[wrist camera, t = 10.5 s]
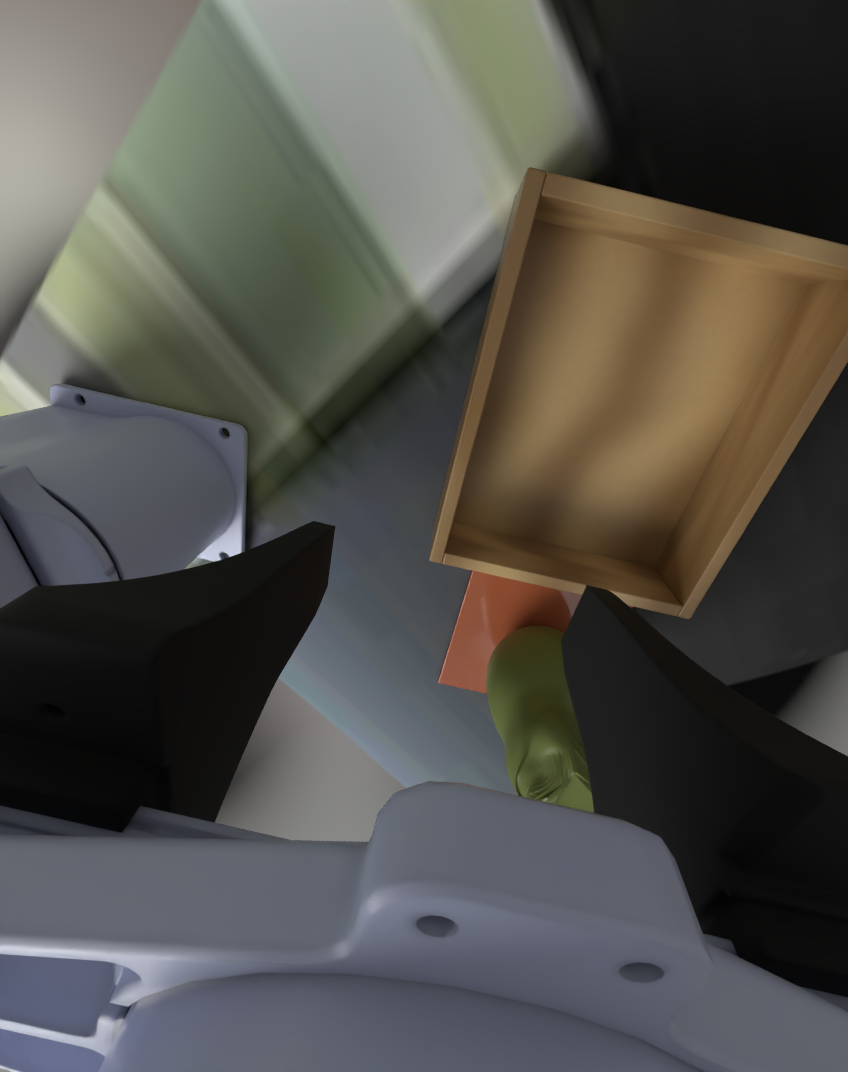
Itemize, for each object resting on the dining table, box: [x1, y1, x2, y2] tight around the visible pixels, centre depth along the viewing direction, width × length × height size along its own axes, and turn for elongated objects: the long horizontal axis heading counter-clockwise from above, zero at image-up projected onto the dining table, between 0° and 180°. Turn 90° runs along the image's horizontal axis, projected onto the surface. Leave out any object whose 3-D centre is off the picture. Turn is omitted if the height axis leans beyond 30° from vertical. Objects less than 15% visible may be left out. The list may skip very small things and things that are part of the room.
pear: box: [486, 625, 594, 813], centre depth 21 cm, size 6×5×10 cm
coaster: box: [438, 570, 633, 693], centre depth 26 cm, size 9×9×1 cm
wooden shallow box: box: [429, 167, 848, 619], centre depth 18 cm, size 12×14×4 cm
